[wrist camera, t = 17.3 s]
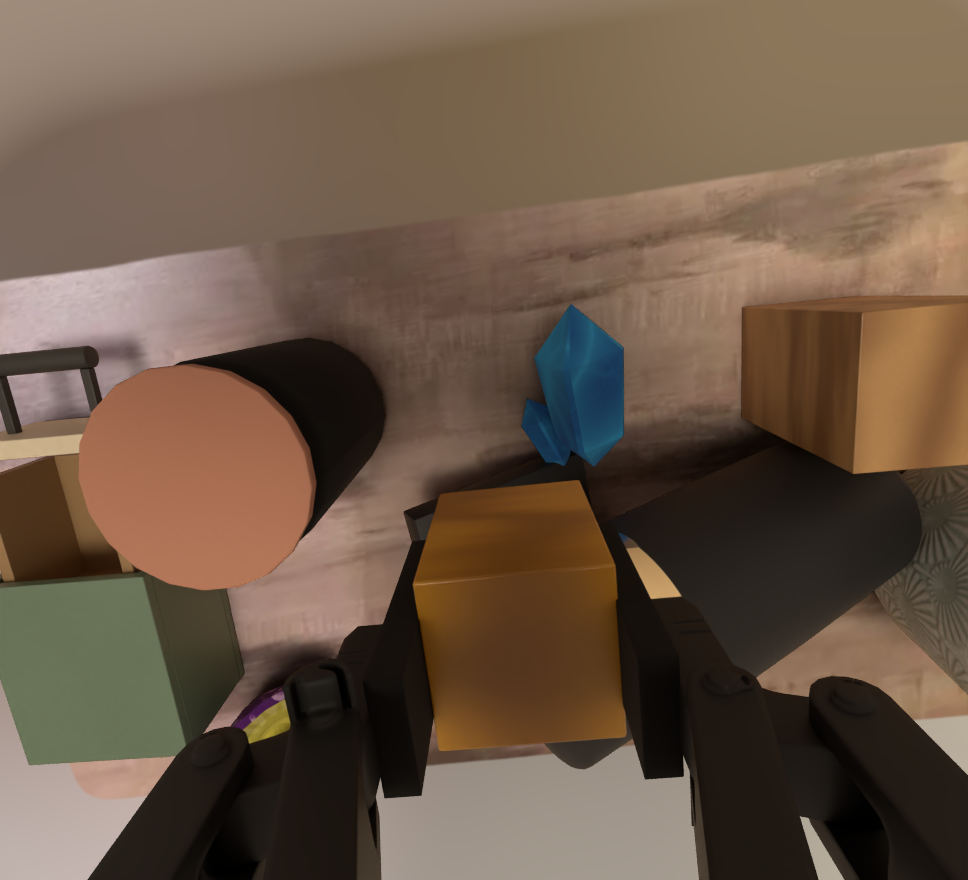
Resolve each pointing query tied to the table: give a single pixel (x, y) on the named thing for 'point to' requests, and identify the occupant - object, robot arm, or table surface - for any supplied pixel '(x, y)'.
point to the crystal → (577, 392)
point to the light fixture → (749, 550)
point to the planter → (936, 572)
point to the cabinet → (114, 665)
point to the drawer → (49, 483)
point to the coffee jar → (227, 458)
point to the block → (519, 619)
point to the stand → (861, 379)
